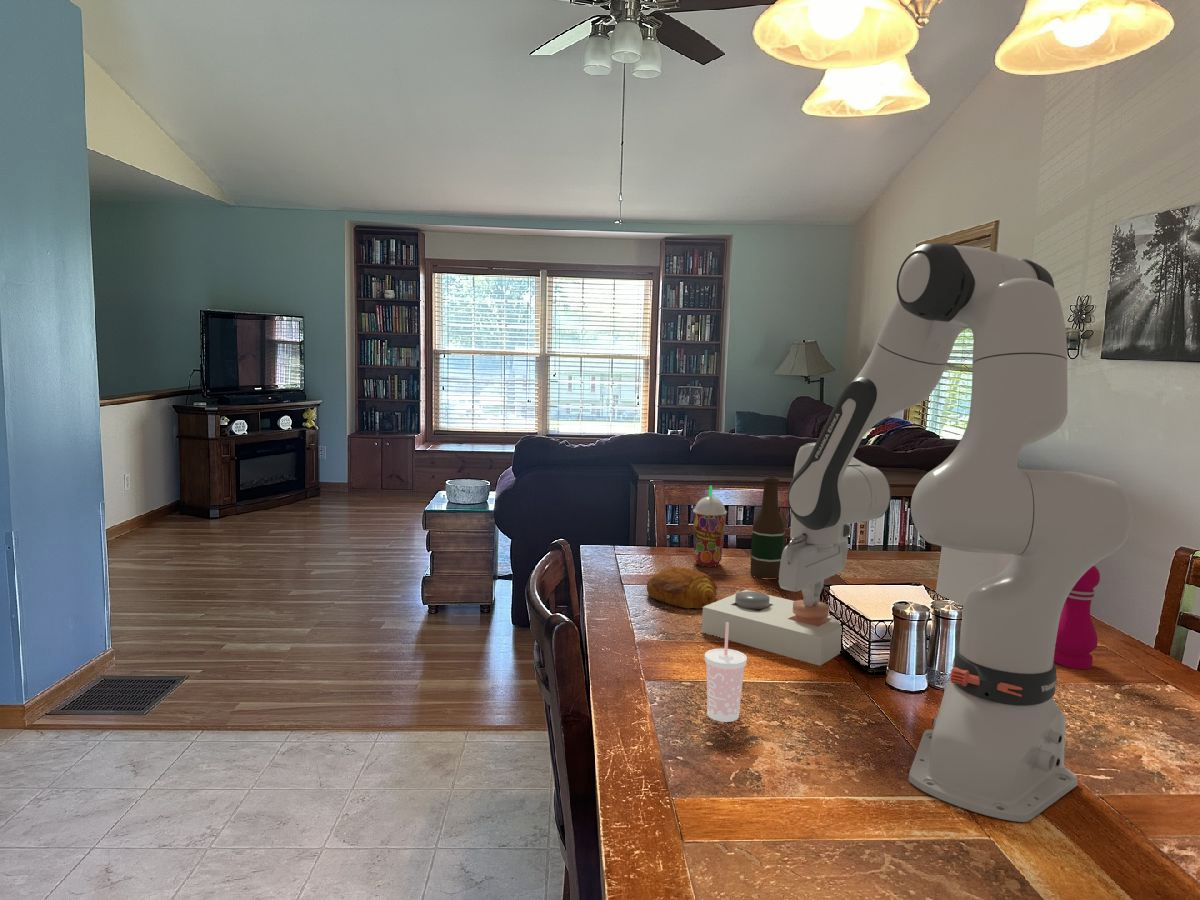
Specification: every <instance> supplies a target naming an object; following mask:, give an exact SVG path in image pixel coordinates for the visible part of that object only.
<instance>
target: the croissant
mask: <svg viewBox="0 0 1200 900" xmlns="http://www.w3.org/2000/svg"><path fill="white" fill-rule="evenodd" d="M717 590H718V585H717V583H716V582H715V580H714V579H713V578H712V577H711V576H710V575H708V574H706V573H704V572H702V571H698V570H695V569H691V568H687V567H679V566H672V567H668V568H664V569H662V570H660V571H659V572H657V573H656V574H654V575H652V577H651V578H650V579H649V580H648V581H647V584H646V591H647V594H648V596H649V597H651V598H652V599H655V600H657V601H658V602H661V601H662V602H661V603H664V602H665V603H664V604H667V603H668V604H667V605H670V604H671V606H674V605H675V607H678V606H679V607H678V608H685V609H690V608H695V609H701V608H703V607H704V606H706V605H709V604H711V603H714V602H716V601H717V600H716V597H717V596H718V594H717Z"/></svg>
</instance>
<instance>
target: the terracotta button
mask: <svg viewBox="0 0 1200 900" xmlns="http://www.w3.org/2000/svg"><path fill="white" fill-rule="evenodd" d="M793 601H794V602H793V611H792V612H793V613H794V614H795V615H796V621H798V622H802V623H806V624H810V625H814V626H817V627H819V626H820V625H822V624H824V618H826V617H828V616H829V609H830V606H829V604H827V603H825V602H823V601H820V600H819V603H818V604H815V605H814V606H811V607H809V606H805V605H804V604H803V599H797V600H793Z"/></svg>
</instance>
